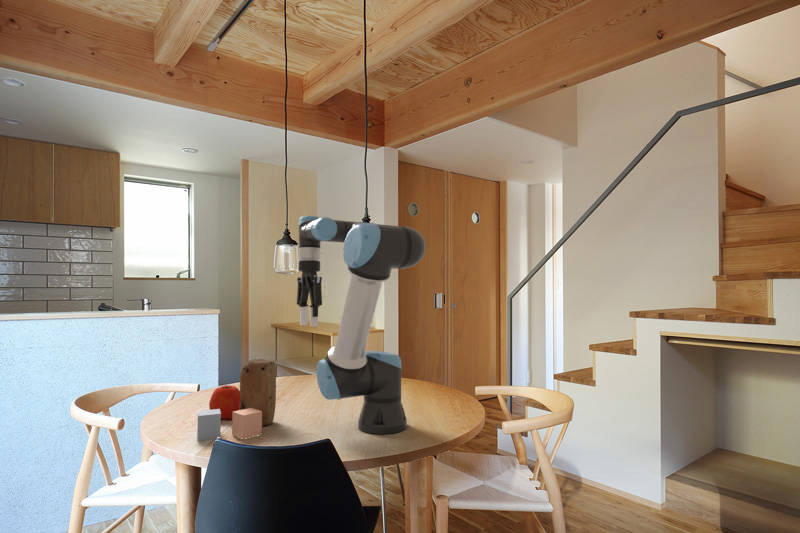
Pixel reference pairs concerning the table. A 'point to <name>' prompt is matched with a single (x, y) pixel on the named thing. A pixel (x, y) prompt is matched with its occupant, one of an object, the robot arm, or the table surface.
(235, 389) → the apple
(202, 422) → the slate block
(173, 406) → the table surface
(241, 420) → the terracotta block
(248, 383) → the brown long irregular lump
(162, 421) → the table surface
